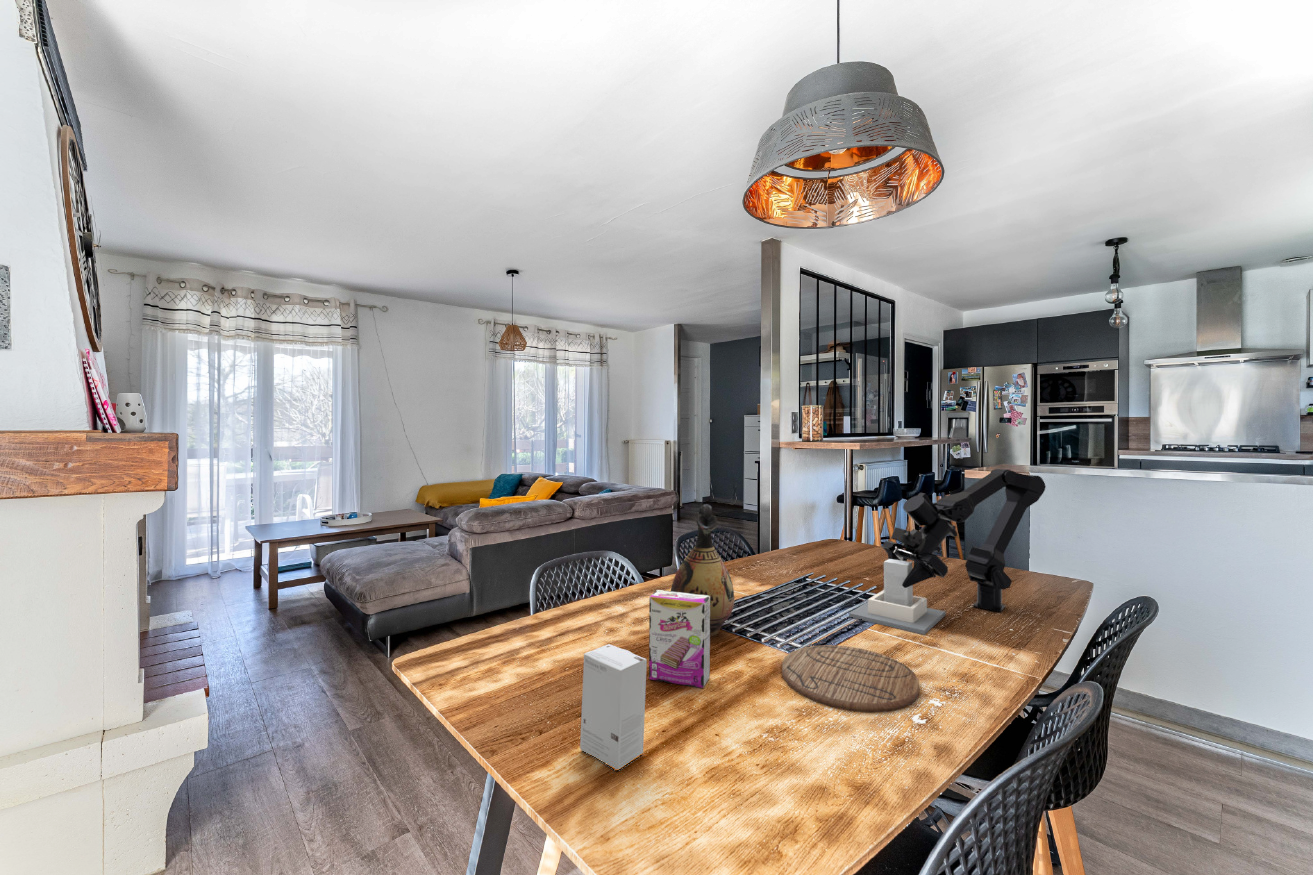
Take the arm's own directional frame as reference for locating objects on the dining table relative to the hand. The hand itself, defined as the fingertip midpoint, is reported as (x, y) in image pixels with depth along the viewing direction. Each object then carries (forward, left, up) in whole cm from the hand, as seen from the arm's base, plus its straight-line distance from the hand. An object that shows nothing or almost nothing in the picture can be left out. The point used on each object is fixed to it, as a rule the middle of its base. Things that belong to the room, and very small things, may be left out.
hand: (893, 582), depth 140 cm
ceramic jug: (+40, -31, -9) cm, 52 cm away
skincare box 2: (-1, +1, -7) cm, 7 cm away
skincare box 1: (+89, -10, -9) cm, 90 cm away
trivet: (+42, +6, -9) cm, 43 cm away
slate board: (-1, +1, -9) cm, 9 cm away
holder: (-1, +1, -9) cm, 9 cm away
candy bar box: (+64, -18, -9) cm, 67 cm away
